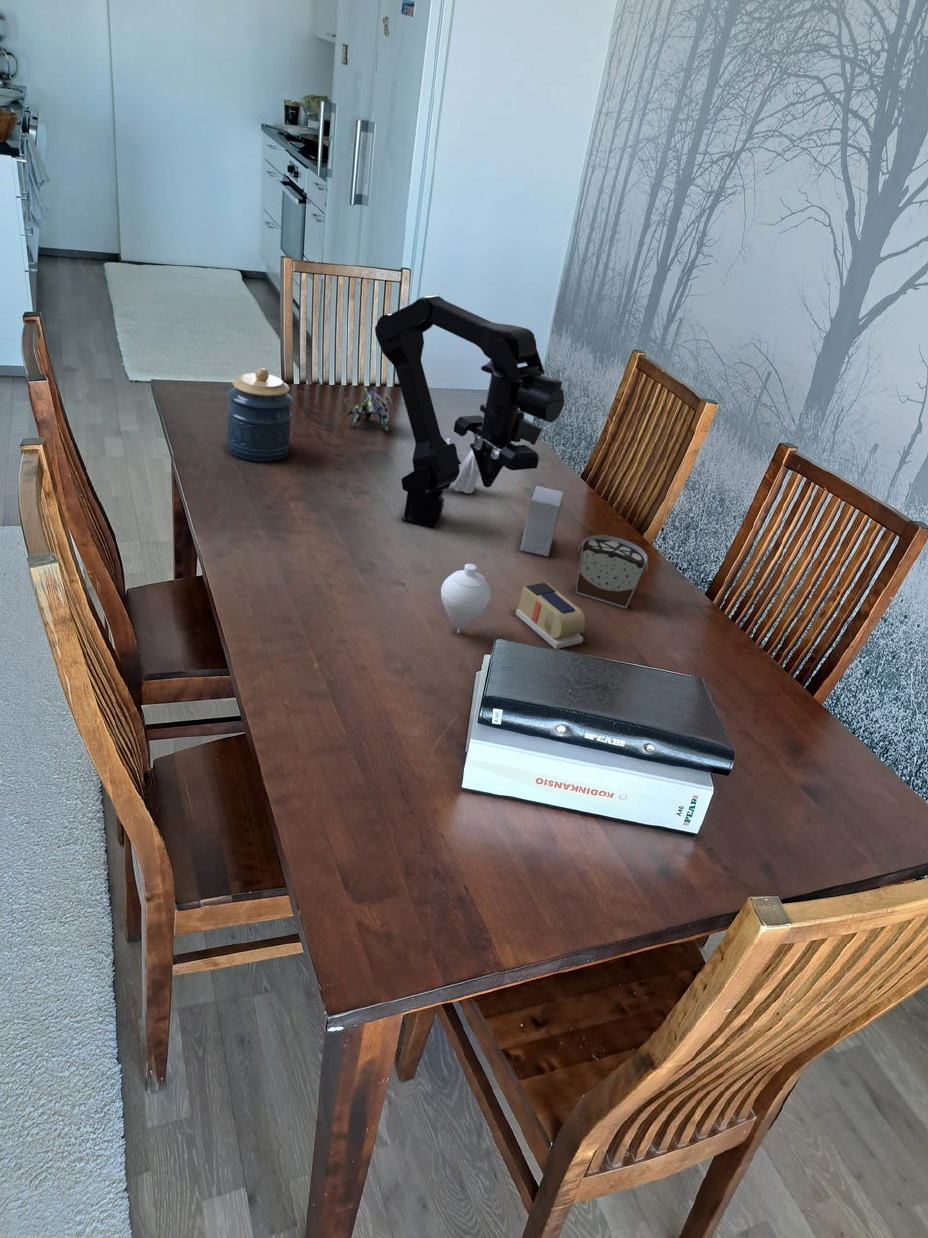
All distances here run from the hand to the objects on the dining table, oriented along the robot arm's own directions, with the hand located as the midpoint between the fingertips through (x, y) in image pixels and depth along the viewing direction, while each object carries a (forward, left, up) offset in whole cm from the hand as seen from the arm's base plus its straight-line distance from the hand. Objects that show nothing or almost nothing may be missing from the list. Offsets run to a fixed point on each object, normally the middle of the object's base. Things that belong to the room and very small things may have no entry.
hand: (486, 486), depth 163 cm
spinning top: (+3, -32, -12) cm, 34 cm away
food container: (+25, -7, -12) cm, 29 cm away
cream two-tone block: (+13, -20, -9) cm, 25 cm away
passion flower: (-35, +48, -12) cm, 61 cm away
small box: (+11, +6, -12) cm, 17 cm away
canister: (-51, +20, -12) cm, 56 cm away
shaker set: (-10, +23, -12) cm, 28 cm away
